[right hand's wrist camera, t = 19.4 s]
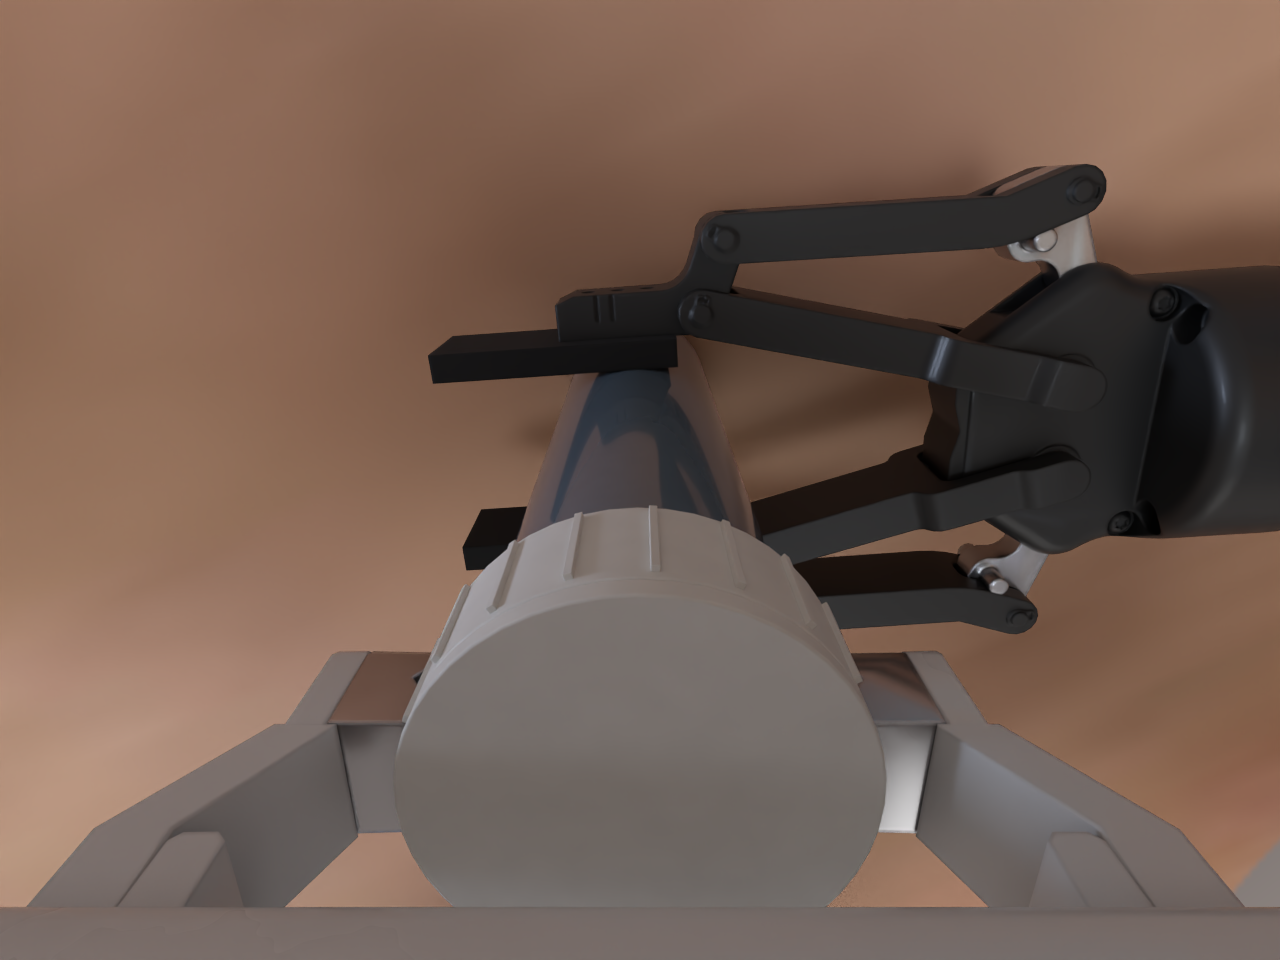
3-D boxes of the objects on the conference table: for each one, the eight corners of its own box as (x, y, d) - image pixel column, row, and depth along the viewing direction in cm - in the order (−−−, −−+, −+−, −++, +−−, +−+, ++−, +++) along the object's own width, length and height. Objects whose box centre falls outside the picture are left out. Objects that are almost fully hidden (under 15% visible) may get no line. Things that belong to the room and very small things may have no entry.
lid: (370, 561, 10) (297, 662, 8) (801, 450, 9) (848, 527, 7) (514, 867, 12) (488, 1010, 10) (871, 793, 11) (924, 928, 9)
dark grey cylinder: (712, 433, 28) (845, 873, 10) (589, 454, 28) (502, 917, 10) (693, 308, 26) (812, 567, 8) (562, 332, 27) (400, 632, 9)
